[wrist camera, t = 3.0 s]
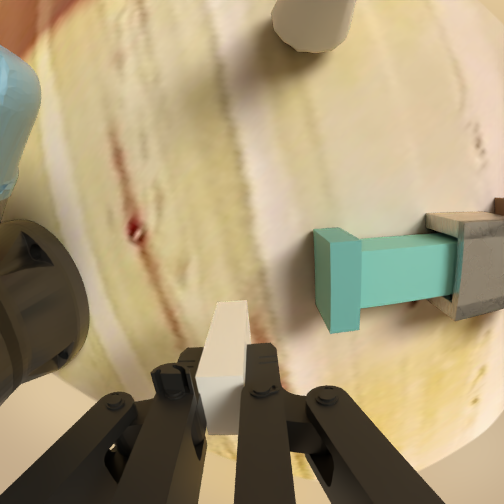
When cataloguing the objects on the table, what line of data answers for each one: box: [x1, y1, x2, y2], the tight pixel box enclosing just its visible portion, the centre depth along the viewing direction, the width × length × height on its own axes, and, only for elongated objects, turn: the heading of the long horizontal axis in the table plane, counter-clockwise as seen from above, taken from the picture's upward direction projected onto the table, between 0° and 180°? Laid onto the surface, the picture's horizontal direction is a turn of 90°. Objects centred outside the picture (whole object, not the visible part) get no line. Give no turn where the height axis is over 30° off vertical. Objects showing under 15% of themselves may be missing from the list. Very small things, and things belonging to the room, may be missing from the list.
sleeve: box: [426, 211, 504, 321], centre depth 21 cm, size 7×7×6 cm
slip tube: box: [313, 228, 458, 334], centre depth 21 cm, size 14×6×5 cm, turn 95°
